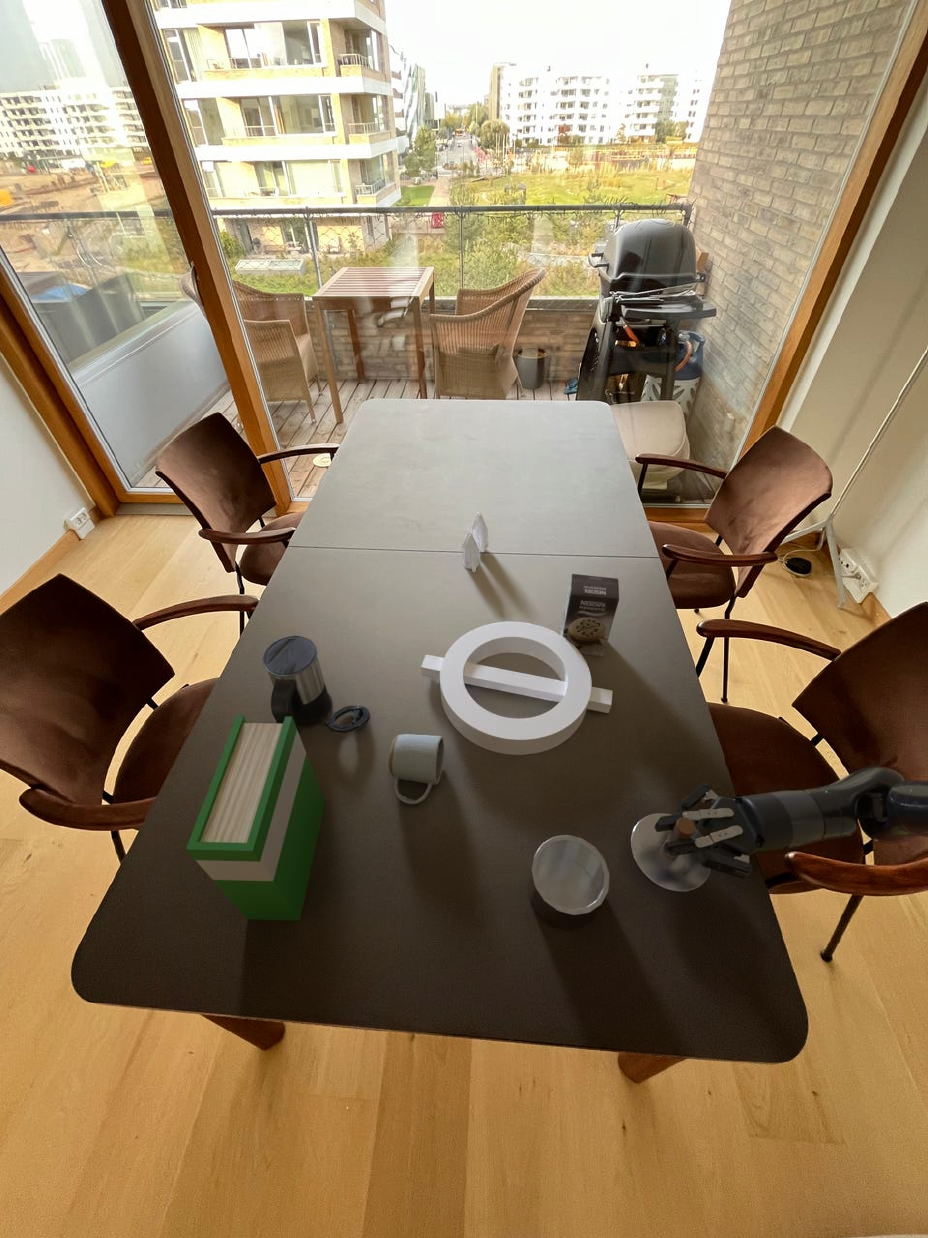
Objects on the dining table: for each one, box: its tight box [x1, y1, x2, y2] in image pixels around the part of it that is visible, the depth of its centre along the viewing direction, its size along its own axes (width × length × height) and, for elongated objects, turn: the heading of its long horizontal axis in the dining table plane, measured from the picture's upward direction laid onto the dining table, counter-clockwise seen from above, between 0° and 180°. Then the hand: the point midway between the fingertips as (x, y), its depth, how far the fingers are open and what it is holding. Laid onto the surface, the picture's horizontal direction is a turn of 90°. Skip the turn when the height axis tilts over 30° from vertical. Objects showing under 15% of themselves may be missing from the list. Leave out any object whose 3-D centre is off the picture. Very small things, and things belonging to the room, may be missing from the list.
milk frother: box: [261, 635, 371, 737], centre depth 97 cm, size 14×16×15 cm
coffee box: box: [559, 573, 620, 658], centre depth 109 cm, size 9×6×16 cm
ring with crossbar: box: [420, 620, 613, 756], centre depth 104 cm, size 28×28×5 cm
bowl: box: [527, 834, 611, 932], centre depth 77 cm, size 10×10×7 cm
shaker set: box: [462, 511, 489, 573], centre depth 131 cm, size 12×4×11 cm, turn 160°
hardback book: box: [185, 715, 326, 922], centre depth 75 cm, size 18×7×24 cm, turn 179°
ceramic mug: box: [388, 733, 445, 805], centre depth 90 cm, size 11×8×8 cm
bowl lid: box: [629, 812, 712, 894], centre depth 78 cm, size 11×11×9 cm
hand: (661, 837), depth 76 cm, fingers closed on bowl lid, 2 cm apart
